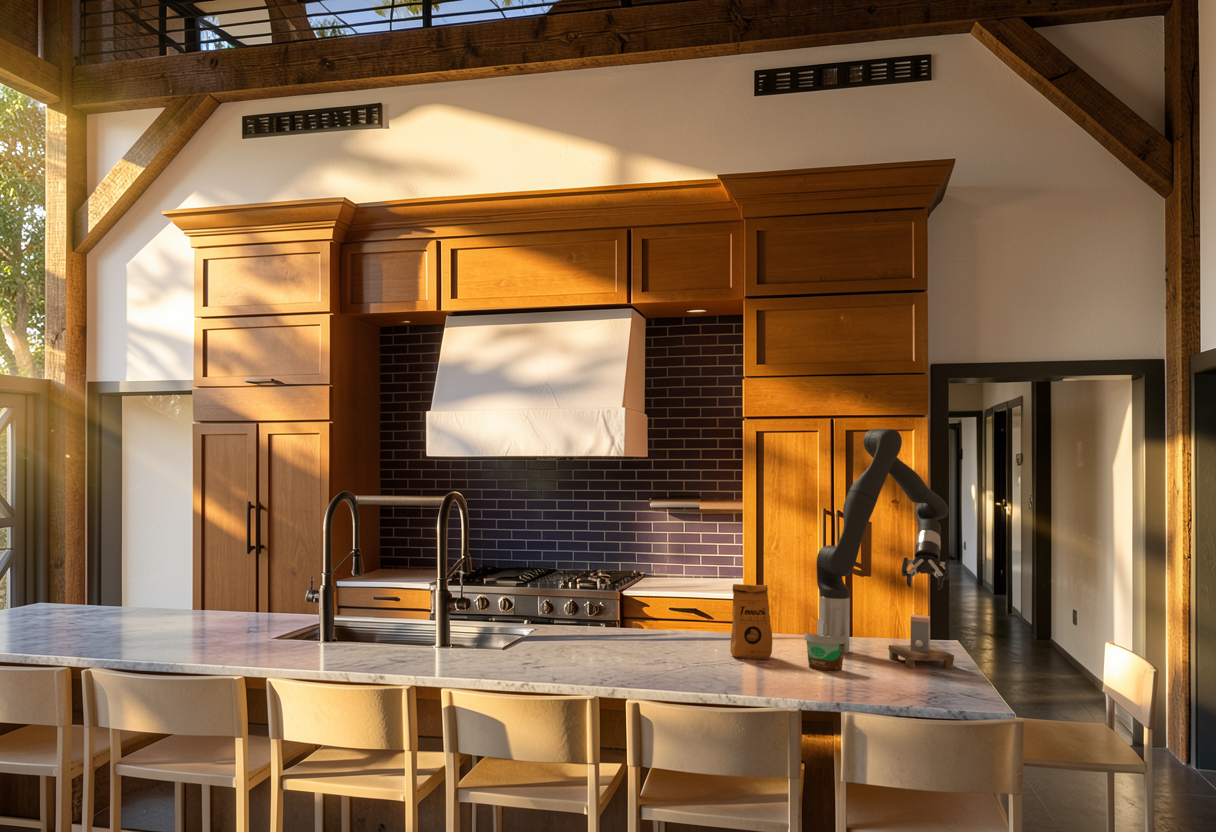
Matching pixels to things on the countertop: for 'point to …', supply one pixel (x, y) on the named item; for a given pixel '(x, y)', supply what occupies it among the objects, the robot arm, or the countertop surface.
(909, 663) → the walnut stand
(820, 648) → the food container
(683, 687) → the countertop surface
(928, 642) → the block
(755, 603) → the coffee package
